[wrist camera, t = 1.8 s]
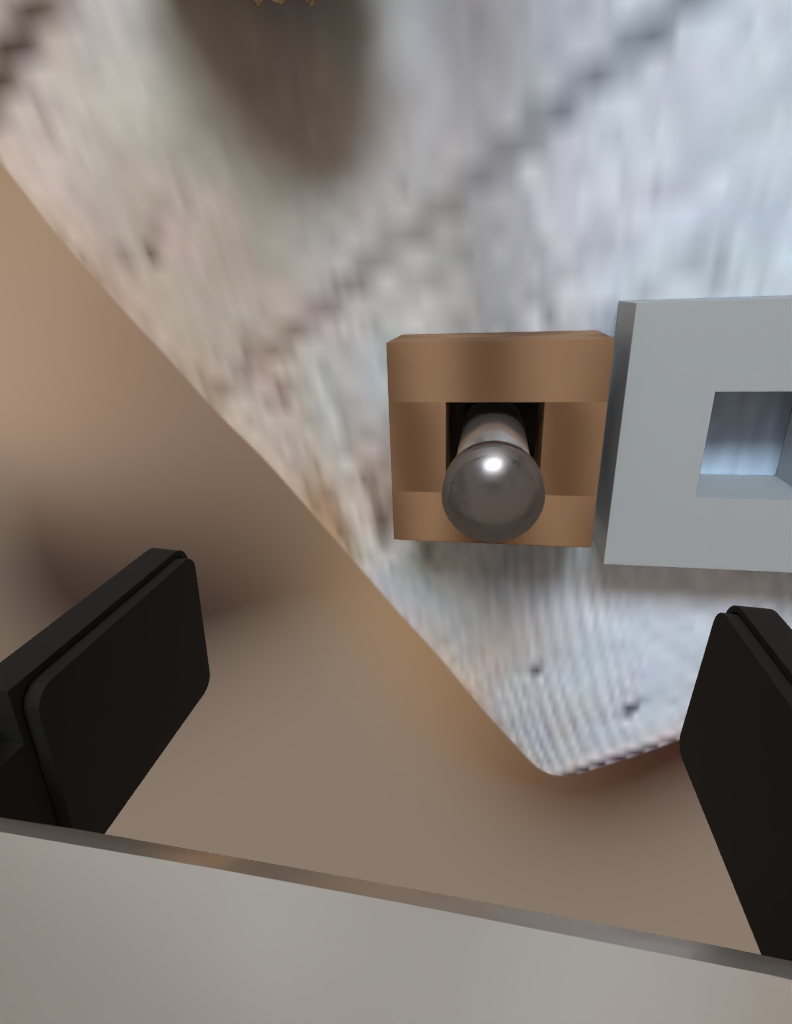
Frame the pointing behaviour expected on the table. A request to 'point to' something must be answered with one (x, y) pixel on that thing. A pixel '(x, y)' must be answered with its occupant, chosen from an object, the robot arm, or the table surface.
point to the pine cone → (280, 2)
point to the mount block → (499, 378)
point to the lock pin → (493, 476)
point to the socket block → (692, 436)
